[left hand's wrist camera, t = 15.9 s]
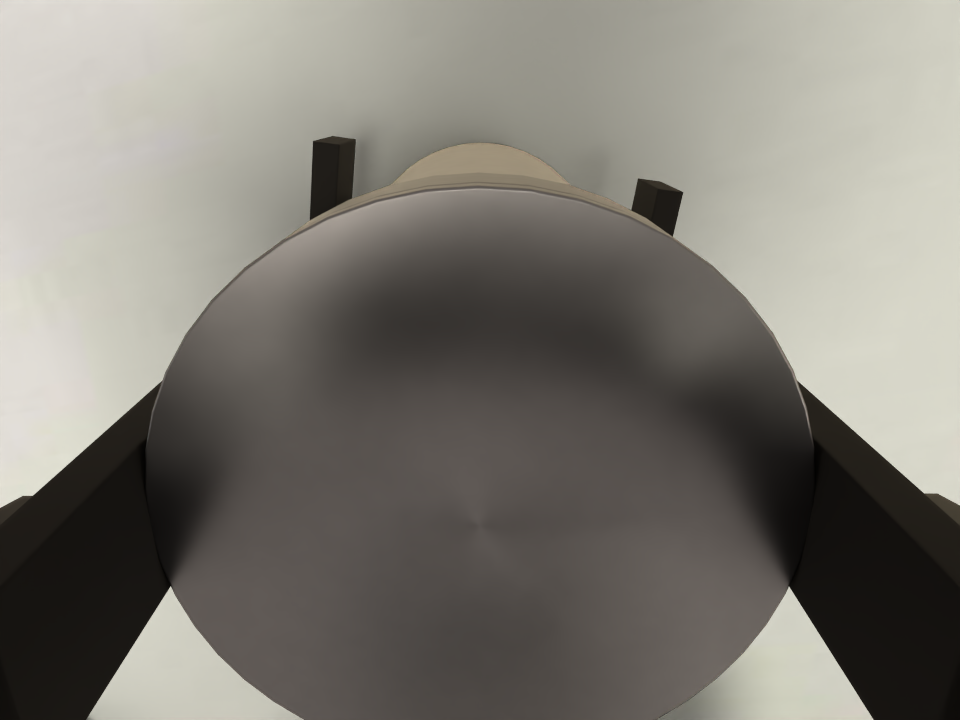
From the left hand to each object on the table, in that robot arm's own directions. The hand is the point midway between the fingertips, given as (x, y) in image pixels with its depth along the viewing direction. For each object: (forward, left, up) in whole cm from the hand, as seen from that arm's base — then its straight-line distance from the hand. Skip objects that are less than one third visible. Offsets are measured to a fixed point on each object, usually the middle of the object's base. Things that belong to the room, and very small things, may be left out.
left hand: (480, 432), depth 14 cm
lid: (0, 0, +3) cm, 3 cm away
